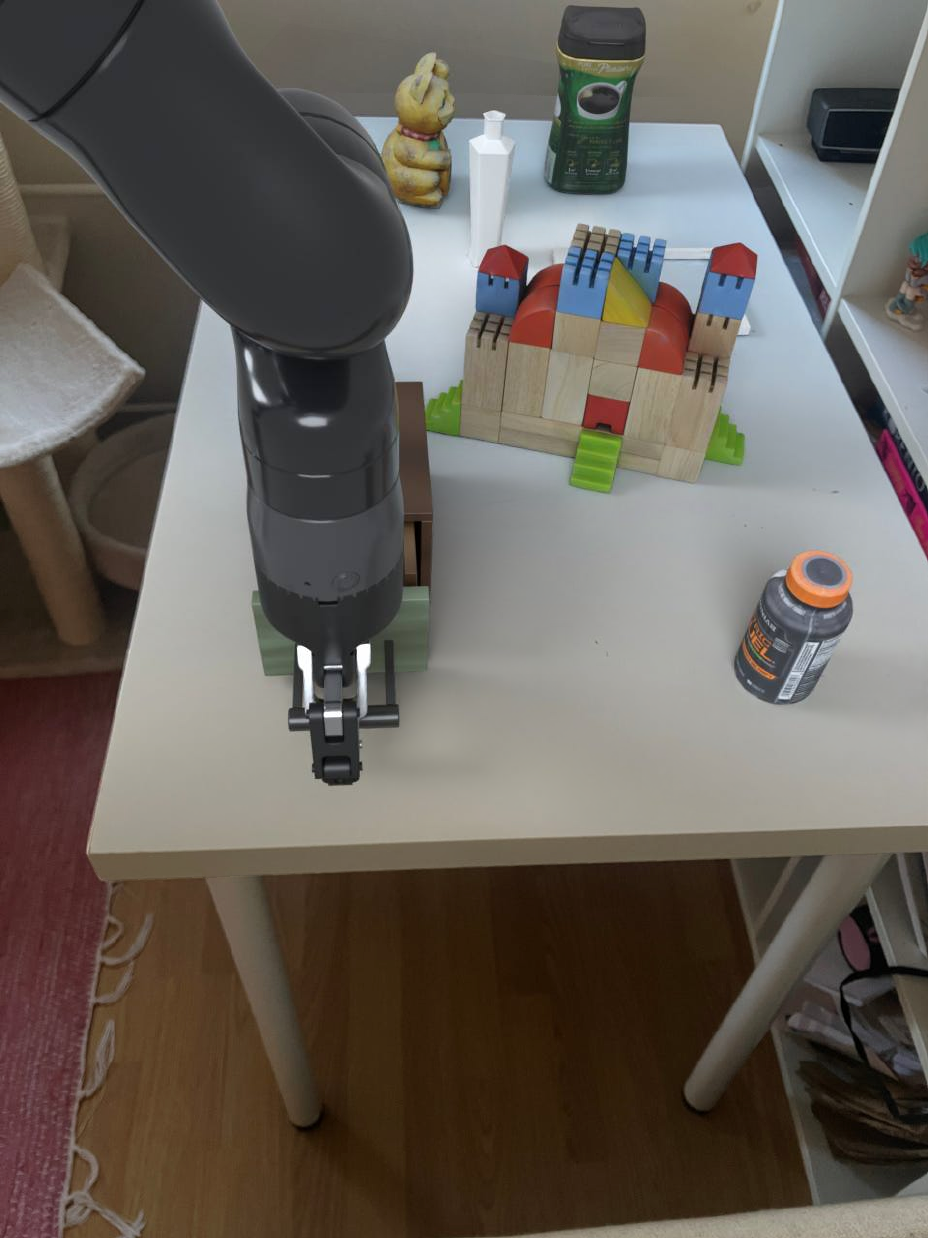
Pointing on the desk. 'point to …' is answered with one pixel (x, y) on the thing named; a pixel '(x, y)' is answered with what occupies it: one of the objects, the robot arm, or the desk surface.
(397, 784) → the desk surface
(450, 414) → the block set
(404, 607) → the drawer
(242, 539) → the desk surface
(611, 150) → the coffee jar
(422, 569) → the cabinet
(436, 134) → the decorative figurine
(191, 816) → the desk surface
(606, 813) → the desk surface
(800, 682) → the pill bottle
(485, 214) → the perfume bottle
